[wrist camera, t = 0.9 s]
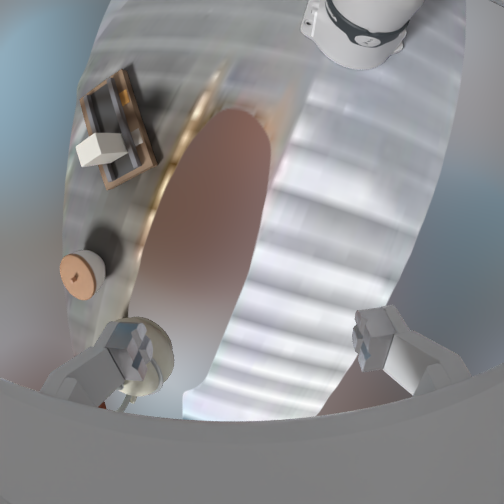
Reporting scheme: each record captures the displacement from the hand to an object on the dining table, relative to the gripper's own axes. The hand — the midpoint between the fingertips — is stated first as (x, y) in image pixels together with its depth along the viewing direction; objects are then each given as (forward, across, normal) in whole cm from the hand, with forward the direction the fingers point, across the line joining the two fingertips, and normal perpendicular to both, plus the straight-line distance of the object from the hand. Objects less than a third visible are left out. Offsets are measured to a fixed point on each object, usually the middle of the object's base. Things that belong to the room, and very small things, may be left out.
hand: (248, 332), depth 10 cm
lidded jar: (+44, +39, +18) cm, 61 cm away
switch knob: (+42, +26, -7) cm, 50 cm away
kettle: (+40, +30, +40) cm, 64 cm away
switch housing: (+46, +27, -11) cm, 54 cm away
